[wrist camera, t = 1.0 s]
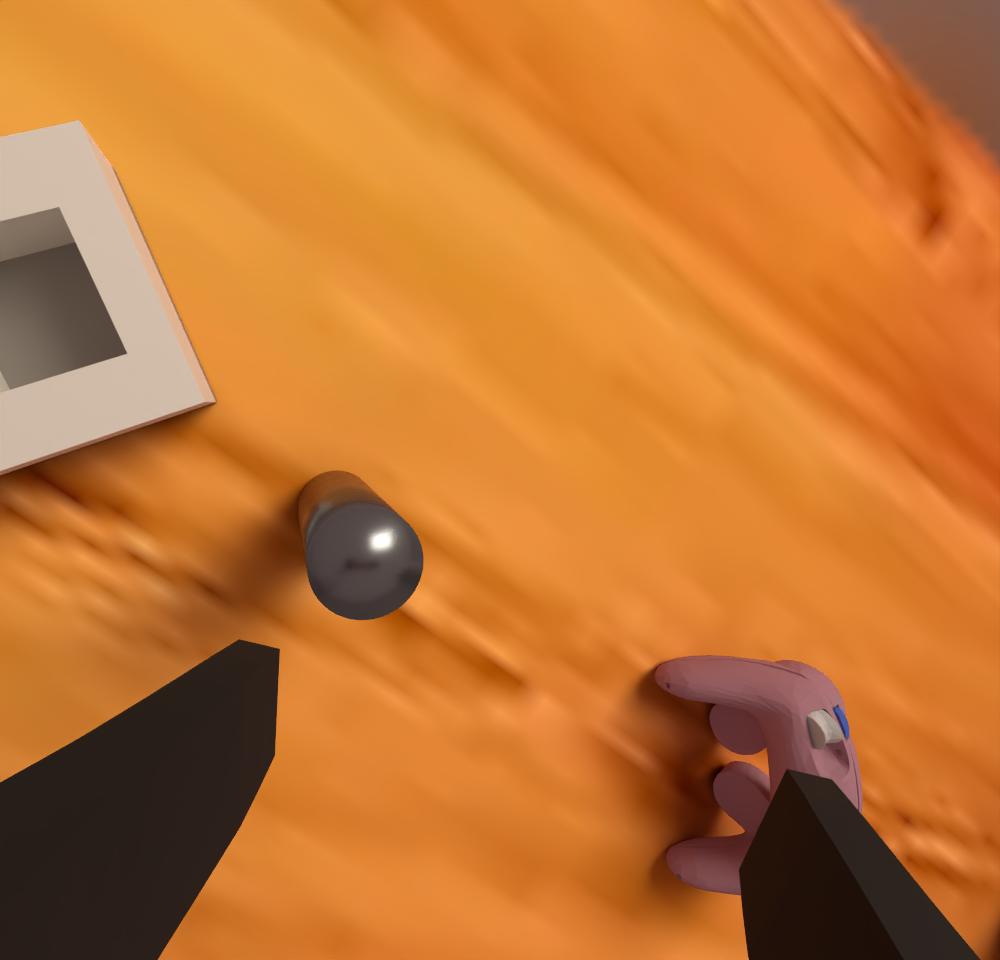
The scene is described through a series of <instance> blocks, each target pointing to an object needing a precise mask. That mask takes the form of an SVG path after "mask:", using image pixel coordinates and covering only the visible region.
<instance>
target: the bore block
mask: <svg viewBox="0 0 1000 960" xmlns="http://www.w3.org/2000/svg"><path fill="white" fill-rule="evenodd" d="M216 402H217V400H216V398H215V396H214V393H213V391H212V389H211V386H210V384H209V382H208V380H207V377H206V375H205V373H204V371H203V368H202V366H201V364H200V362H199V359H198V357H197V355H196V353H195V350H194V348H193V346H192V343H191V341H190V339H189V337H188V334H187V332H186V330H185V328H184V325H183V323H182V321H181V319H180V316H179V314H178V312H177V309H176V307H175V305H174V303H173V300H172V298H171V296H170V294H169V291H168V289H167V287H166V285H165V282H164V280H163V278H162V276H161V273H160V271H159V269H158V266H157V264H156V262H155V260H154V257H153V255H152V253H151V251H150V248H149V246H148V244H147V242H146V239H145V237H144V235H143V232H142V230H141V228H140V226H139V223H138V221H137V219H136V217H135V214H134V212H133V210H132V208H131V205H130V203H129V201H128V199H127V196H126V194H125V192H124V189H123V187H122V185H121V183H120V180H119V178H118V176H117V174H116V171H115V170H114V168H113V167H112V166H111V164H110V163H109V161H108V160H107V158H106V157H105V156H104V154H103V153H102V151H101V150H100V149H99V147H98V146H97V144H96V143H95V142H94V140H93V139H92V137H91V136H90V135H89V133H88V132H87V130H86V129H85V128H84V126H83V125H82V123H81V122H80V121H79V120H78V121H74V122H69V123H64V124H60V125H55V126H50V127H46V128H41V129H36V130H32V131H27V132H22V133H18V134H13V135H8V136H3V137H0V476H1V475H4V474H7V473H9V472H12V471H15V470H18V469H21V468H24V467H27V466H30V465H33V464H36V463H39V462H42V461H45V460H48V459H51V458H54V457H57V456H60V455H63V454H65V453H68V452H71V451H74V450H77V449H80V448H83V447H86V446H89V445H92V444H95V443H98V442H101V441H104V440H107V439H110V438H113V437H116V436H119V435H121V434H124V433H127V432H130V431H133V430H136V429H139V428H142V427H145V426H148V425H151V424H154V423H157V422H160V421H163V420H166V419H169V418H172V417H175V416H177V415H180V414H183V413H186V412H189V411H192V410H195V409H198V408H201V407H204V406H207V405H210V404H213V403H216Z"/></svg>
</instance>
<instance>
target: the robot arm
mask: <svg viewBox="0 0 1000 960" xmlns="http://www.w3.org/2000/svg"><path fill="white" fill-rule="evenodd" d="M279 652H280V649H277V648H273V647H269V646H265V645H260V644H256V643H252V642H248V641H244V640H237V641H236V642H234V643H233V644H231V645H229V646H228V647H226V648H224V649H223V650H221V651H219V652H218V653H216V654H214V655H213V656H211V657H210V658H208V659H207V660H205V661H203V662H202V663H200V664H199V665H197V666H195V667H194V668H192V669H191V670H189V671H188V672H186V673H184V674H183V675H181V676H180V677H178V678H177V679H175V680H173V681H172V682H170V683H169V684H167V685H165V686H164V687H162V688H161V689H159V690H157V691H156V692H154V693H153V694H151V695H150V696H148V697H146V698H145V699H143V700H142V701H140V702H138V703H137V704H135V705H133V706H132V707H130V708H128V709H127V710H125V711H123V712H122V713H120V714H118V715H117V716H115V717H113V718H112V719H110V720H109V721H107V722H105V723H104V724H102V725H100V726H99V727H97V728H95V729H94V730H92V731H90V732H89V733H87V734H85V735H84V736H82V737H80V738H79V739H77V740H75V741H73V742H72V743H70V744H68V745H67V746H65V747H63V748H61V749H59V750H58V751H56V752H54V753H52V754H50V755H49V756H47V757H45V758H43V759H42V760H40V761H38V762H36V763H34V764H33V765H31V766H29V767H27V768H25V769H24V770H22V771H20V772H18V773H16V774H15V775H13V776H11V777H9V778H8V779H6V780H4V781H2V782H0V960H158V958H159V956H160V955H161V953H162V952H163V950H164V948H165V947H166V945H167V944H168V942H169V940H170V939H171V937H172V936H173V934H174V932H175V931H176V929H177V928H178V926H179V924H180V923H181V921H182V920H183V918H184V917H185V915H186V913H187V912H188V910H189V909H190V907H191V905H192V904H193V902H194V901H195V899H196V897H197V896H198V894H199V893H200V891H201V889H202V888H203V886H204V885H205V883H206V881H207V880H208V878H209V877H210V875H211V873H212V872H213V870H214V868H215V867H216V865H217V864H218V862H219V860H220V859H221V857H222V856H223V854H224V852H225V851H226V849H227V847H228V846H229V844H230V843H231V841H232V839H233V838H234V836H235V834H236V833H237V831H238V829H239V828H240V826H241V824H242V822H243V820H244V818H245V816H246V814H247V812H248V810H249V808H250V806H251V804H252V802H253V800H254V798H255V796H256V794H257V792H258V790H259V788H260V786H261V784H262V781H263V779H264V777H265V775H266V773H267V771H268V769H269V767H270V764H271V762H272V760H273V758H274V756H275V739H276V718H277V696H278V674H279ZM739 878H740V888H741V899H742V909H743V918H744V926H745V935H746V943H747V951H748V957H749V960H980V959H979V957H978V956H977V955H976V954H975V953H974V951H973V950H972V949H971V948H970V947H969V945H968V944H967V943H966V942H965V941H964V940H963V938H962V937H961V936H960V935H959V933H958V932H957V931H956V930H955V929H954V927H953V926H952V925H951V924H950V923H949V921H948V920H947V919H946V918H945V917H944V915H943V914H942V913H941V912H940V911H939V909H938V908H937V907H936V906H935V904H934V903H933V902H932V901H931V900H930V898H929V897H928V896H927V895H926V893H925V892H924V891H923V890H922V889H921V887H920V886H919V885H918V884H917V882H916V881H915V880H914V879H913V877H912V876H911V875H910V874H909V872H908V871H907V870H906V869H905V867H904V866H903V865H902V864H901V863H900V861H899V860H898V859H897V858H896V856H895V855H894V854H893V853H892V851H891V850H890V849H889V848H888V846H887V845H886V844H885V843H884V841H883V840H882V839H881V838H880V837H879V835H878V834H877V833H876V832H875V830H874V829H873V828H872V827H871V825H870V824H869V823H868V822H867V820H866V819H865V818H864V817H863V816H862V814H861V813H860V812H859V811H858V809H857V808H856V807H855V806H854V805H853V803H852V802H851V801H850V800H849V799H848V797H847V796H846V795H845V794H844V793H843V791H842V790H841V789H840V788H839V787H838V786H837V784H836V783H835V782H834V781H833V780H832V779H828V778H824V777H820V776H816V775H811V774H807V773H803V772H799V771H794V770H790V769H786V771H785V773H784V775H783V778H782V780H781V782H780V784H779V786H778V788H777V790H776V792H775V794H774V796H773V799H772V801H771V803H770V805H769V807H768V809H767V811H766V813H765V815H764V817H763V820H762V822H761V824H760V826H759V828H758V830H757V832H756V834H755V836H754V839H753V841H752V843H751V845H750V847H749V849H748V851H747V853H746V855H745V857H744V860H743V862H742V864H741V866H740V868H739Z"/></svg>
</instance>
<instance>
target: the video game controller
mask: <svg viewBox="0 0 1000 960" xmlns="http://www.w3.org/2000/svg"><path fill="white" fill-rule="evenodd" d="M655 681H656V683H657V684H658V685H659V686H660V687H661V688H662V689H664V690H665V691H667V692H669V693H671V694H673V695H675V696H678V697H680V698H683V699H686V700H693V701H700V702H707V703H714V704H716V705H715V706H714V707H713V708H712V710H711V712H710V726H711V728H712V731H713V733H714V735H715V737H716V738H717V740H718V741H719V742H720V743H721V744H722V745H723V746H724V747H726V748H727V749H728V750H730V751H732V752H734V753H737V754H742V755H752V754H756V753H758V752H760V751H762V750H763V749H765V748H766V747H767V753H768V764H769V776H770V778H769V777H768V776H767V775H766V774H765V773H764V772H762V771H761V770H760V769H758V768H757V767H755V766H753V765H751V764H749V763H746V762H740V761H733V762H730V763H729V764H727V765H726V766H725V767H724V768H723V769H722V770H721V771H720V772H719V774H718V775H717V776H716V778H715V780H714V783H713V792H714V797H715V799H716V801H717V802H718V804H719V806H720V807H721V808H722V809H723V810H724V811H725V812H726V813H727V814H728V815H729V816H730V817H731V818H733V819H734V820H735V821H736V822H737V823H738V824H739V825H740V826H741V827H742V828H743V829H744V830H745V832H744V833H742V834H739V835H734V836H725V837H701V838H695V839H690V840H685V841H682V842H680V843H677V844H676V845H674V846H672V847H670V848H669V849H668V852H667V855H666V861H667V866H668V867H669V869H670V870H671V871H672V872H673V874H674V875H675V876H676V877H678V878H679V879H680V880H682V881H683V882H685V883H687V884H689V885H691V886H693V887H695V888H698V889H701V890H705V891H712V892H719V893H726V894H734V895H741V888H740V878H739V868H740V866H741V864H742V862H743V860H744V857H745V855H746V853H747V851H748V849H749V847H750V845H751V843H752V841H753V839H754V836H755V834H756V832H757V830H758V828H759V826H760V824H761V822H762V820H763V817H764V815H765V813H766V811H767V809H768V807H769V805H770V803H771V801H772V799H773V796H774V794H775V792H776V790H777V788H778V786H779V784H780V782H781V780H782V778H783V775H784V773H785V771H786V769H790V770H794V771H799V772H803V773H807V774H811V775H816V776H820V777H824V778H828V779H832V780H833V781H834V782H835V783H836V784H837V786H838V787H839V788H840V789H841V790H842V791H843V793H844V794H845V795H846V796H847V797H848V799H849V800H850V801H851V802H852V803H853V805H854V806H855V807H856V808H857V809H858V811H859V812H860V813H861V814H862V802H863V799H862V785H861V775H860V770H859V764H858V760H857V755H856V751H855V747H854V744H853V741H852V738H851V736H850V733H849V725H848V722H847V719H846V711H845V705H844V702H843V700H842V697H841V695H840V693H839V691H838V689H837V688H836V687H835V685H834V684H833V683H832V681H831V680H830V679H829V678H828V677H826V676H825V675H824V674H823V673H822V672H820V671H819V670H817V669H816V668H814V667H812V666H809V665H807V664H804V663H801V662H797V661H792V660H781V661H777V662H770V661H765V660H756V659H748V658H739V657H730V656H711V655H708V656H689V657H683V658H677V659H673V660H670V661H667V662H664V663H662V664H660V665H659V666H658V668H657V670H656V672H655Z"/></svg>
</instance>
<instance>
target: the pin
mask: <svg viewBox="0 0 1000 960" xmlns="http://www.w3.org/2000/svg"><path fill="white" fill-rule="evenodd" d="M297 510H298V518H299V524H300V530H301V536H302V542H303V549H304V555H305V561H306V567H307V573H308V578H309V582H310V585H311V588H312V590H313V592H314V594H315V595H316V597H317V598H318V600H319V601H320V602H321V603H322V604H323V605H324V606H325V607H326V608H328V609H329V610H330V611H332V612H334V613H335V614H337V615H340V616H342V617H345V618H349V619H355V620H369V619H375V618H379V617H382V616H385V615H387V614H389V613H391V612H393V611H395V610H396V609H398V608H399V607H400V606H402V605H403V604H404V603H405V602H406V601H407V600H408V599H409V598H410V596H411V595H412V594H413V592H414V591H415V589H416V587H417V585H418V583H419V581H420V578H421V574H422V570H423V552H422V547H421V544H420V541H419V539H418V537H417V535H416V533H415V532H414V530H413V529H412V527H411V526H410V525H409V524H408V523H407V522H406V521H405V520H404V519H403V518H402V517H401V516H400V515H398V514H397V513H396V512H395V511H394V510H393V509H392V508H391V507H390V506H389V505H388V504H387V503H386V502H385V501H384V500H383V499H382V498H380V497H379V496H378V495H377V494H376V493H375V492H374V491H373V490H372V489H371V488H370V487H369V486H368V485H367V484H366V483H365V482H363V481H362V480H361V479H360V478H359V477H357V476H355V475H353V474H351V473H348V472H344V471H329V472H325V473H322V474H320V475H318V476H316V477H314V478H313V479H312V480H310V481H309V482H308V483H307V484H306V486H305V487H304V488H303V490H302V492H301V494H300V496H299V500H298V507H297Z"/></svg>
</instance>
